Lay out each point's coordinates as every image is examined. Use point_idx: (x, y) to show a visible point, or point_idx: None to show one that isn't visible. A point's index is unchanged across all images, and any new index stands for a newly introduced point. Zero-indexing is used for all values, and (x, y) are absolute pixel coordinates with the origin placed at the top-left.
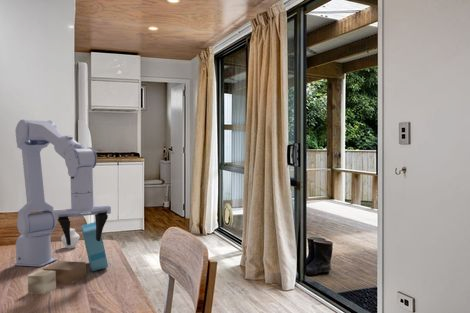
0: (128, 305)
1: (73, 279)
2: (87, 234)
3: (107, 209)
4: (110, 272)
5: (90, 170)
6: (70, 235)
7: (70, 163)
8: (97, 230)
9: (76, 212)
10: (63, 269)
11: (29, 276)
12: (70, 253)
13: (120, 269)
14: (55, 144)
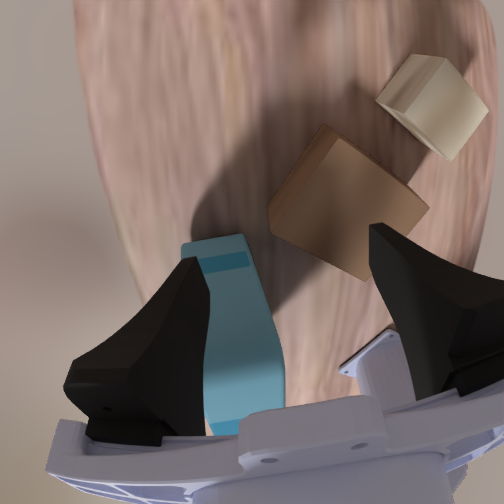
0: None
1: (315, 141)
2: (262, 347)
3: (69, 455)
4: (174, 208)
5: None
6: None
7: None
8: (189, 322)
9: (427, 421)
10: (366, 157)
11: (482, 103)
12: (300, 399)
13: (141, 231)
14: None
